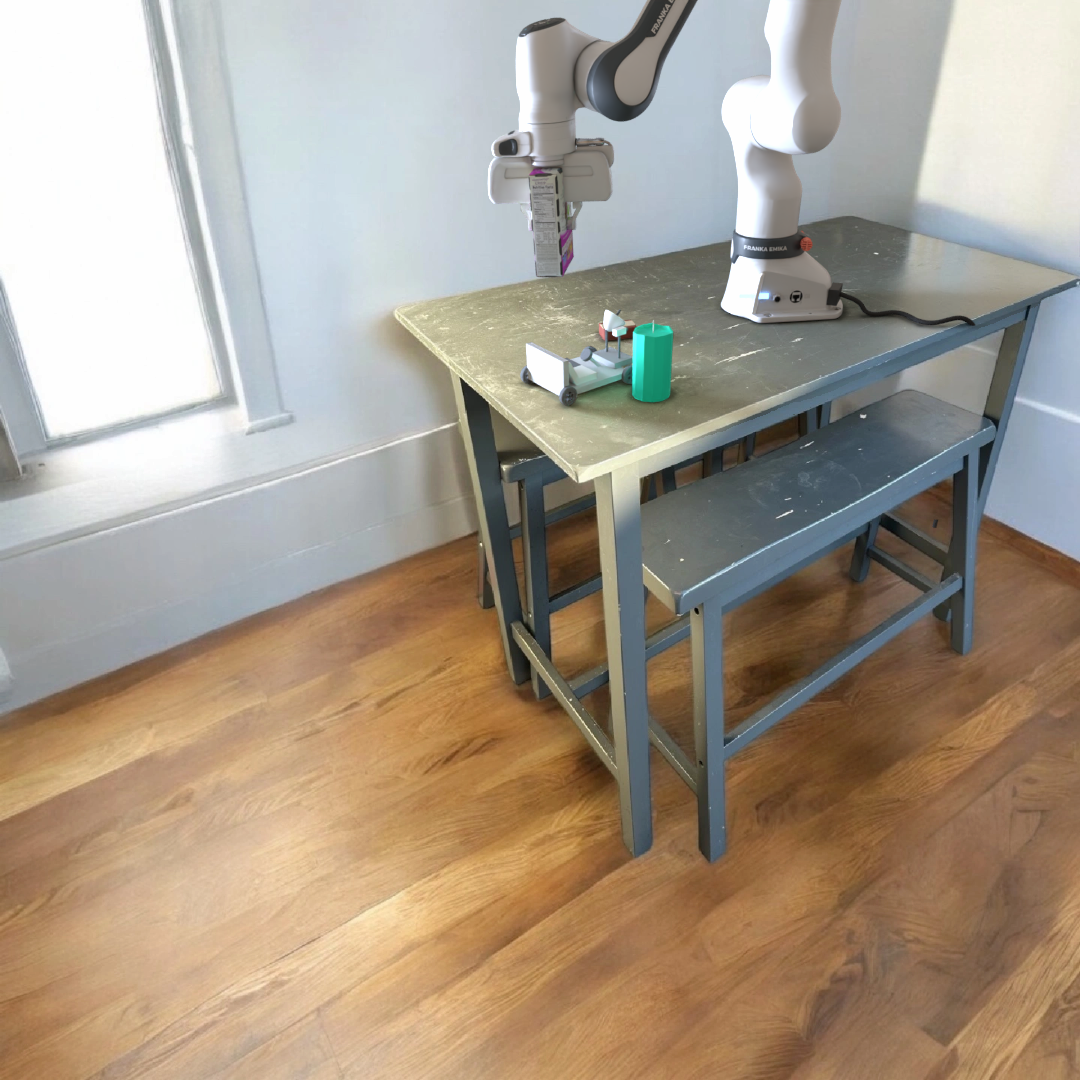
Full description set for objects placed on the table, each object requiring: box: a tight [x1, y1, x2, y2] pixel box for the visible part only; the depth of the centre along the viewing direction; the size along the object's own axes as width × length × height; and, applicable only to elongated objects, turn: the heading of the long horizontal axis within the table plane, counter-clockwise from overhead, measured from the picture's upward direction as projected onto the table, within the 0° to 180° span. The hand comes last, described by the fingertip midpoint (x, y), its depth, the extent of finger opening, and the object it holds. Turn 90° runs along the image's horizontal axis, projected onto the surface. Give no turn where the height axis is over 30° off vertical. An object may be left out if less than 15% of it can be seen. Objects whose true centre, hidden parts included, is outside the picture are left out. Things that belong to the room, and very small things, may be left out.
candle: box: [631, 319, 674, 403], centre depth 130 cm, size 6×6×12 cm
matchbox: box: [598, 319, 638, 342], centre depth 154 cm, size 6×4×2 cm, turn 102°
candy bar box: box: [528, 168, 575, 278], centre depth 141 cm, size 11×5×16 cm, turn 169°
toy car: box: [519, 308, 633, 407], centre depth 136 cm, size 18×10×12 cm
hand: (552, 229), depth 142 cm, fingers closed on candy bar box, 5 cm apart
